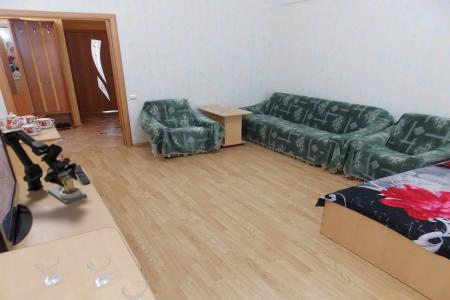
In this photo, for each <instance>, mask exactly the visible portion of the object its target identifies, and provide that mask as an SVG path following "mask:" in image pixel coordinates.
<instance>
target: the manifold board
mask: <svg viewBox="0 0 450 300" xmlns="http://www.w3.org/2000/svg"><path fill="white" fill-rule="evenodd" d="M74 187H75V190H76V191H77V192H75V193H72V194H64V192H65V189H64V187H62V186H60V185H58V186H55V187H51V188H48V189H47V193H48V194H51V195H52V196H53V197H54V198H56V199H58V200H59V201H61V202H62V203H63V204H66V205H68V204H70V202H71V203H72V202H76V201H79V200H81V199H84V198H86V197H87V196H88V195H87V193H86V192H84V191H82V190H81V187H79V186H75V185H74ZM75 200H76V201H75Z"/></svg>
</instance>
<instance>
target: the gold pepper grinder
mask: <svg viewBox="0 0 450 300" xmlns="http://www.w3.org/2000/svg"><path fill="white" fill-rule="evenodd" d="M62 183H63V184H64V189H65V192H64V194H72V193H75V192H77V191H76V190H75V187H76V186H75V180H74V178H73V177H71V176H70V175H66V176H65V177H64V178H63V179H62ZM74 186H75V187H74Z"/></svg>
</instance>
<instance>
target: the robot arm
mask: <svg viewBox="0 0 450 300" xmlns="http://www.w3.org/2000/svg"><path fill="white" fill-rule="evenodd" d="M1 133H2V134H3V138H4V142H5V143H4V142H3V143H4V144H5V145H6V146H9V147H10V148H11V150H12V151H13V152H14V154H15V156H16V158H18V160H19V161H20V164H22V165H23V167H24V168H23V169H24V170H23V173H24V175H23V178H22V179H23V182H25V183H27V187H28V188H27V189H26V190H27V191H34V192H35V191H38V190H40V189H41V188H43V187H44V184H43V183H42V180H41V179H42V178H43V181H44V182H45V183H52V184H55V185H60V186H62V187H64V184H63V181H62V180H60V177H58V175H59V174H61V173H63V172H66V171H67V172H69V173H68V174H69V175H68V176H69V177H73V180H74V181H78V176H77V174H76V168H77V166H78V164H77V163H75V162H71V161H72V160H71V159H70V158H69V157H68V156H67V157H65V158H63V160H60V159H58V158H59V156H60V155H61V153H62V152H63V147H61V146H60V145H58V144H55V143H52V144H50V145H48V144H46V143H45V142H43V141H38V140H36V139H35V138H34V137H32V136H31V135H30V134H28V133H26V132H25V131H24V130H23V129H22V128H19V129H11V130H6V131H3V132H1ZM20 141H21V142H22V143H23V144H25V145H26V146H28V147H29V148H30V149H31V152H32V153H33V154H34V155H35V156H37V157H41V159H40V162H41V163H42V162H44V163H45V164H46V165H47V166H48V168H49V170H50V169H51V170H52V172H50V173H48V174H47V173H46V174H45V176H44V177H43V175H44V171H43V168H42V167H41V166H40V164H39V163H35V162H33V160H32V159H31V157H30V156H29V154H28V153H27V151H26V150H25V149H24V147H23V145H22V144H21V143H20ZM69 163H70V164H69ZM66 165H68V166H67V167H66ZM65 167H66V168H65Z"/></svg>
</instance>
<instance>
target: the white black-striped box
mask: <svg viewBox="0 0 450 300" xmlns="http://www.w3.org/2000/svg"><path fill="white" fill-rule="evenodd" d="M69 164H71V162H69ZM67 166H68V165H66V167H67ZM66 167H65V168H66ZM50 172H52V170H51V169H50V170H49V167H47V168H46V175H47V174H48V173H50ZM68 173H69V172H67V171H66V172H63V173H61V174H59V175H58V178H60V177H61V178H62V177H66V176H70V175H69V174H68Z"/></svg>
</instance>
